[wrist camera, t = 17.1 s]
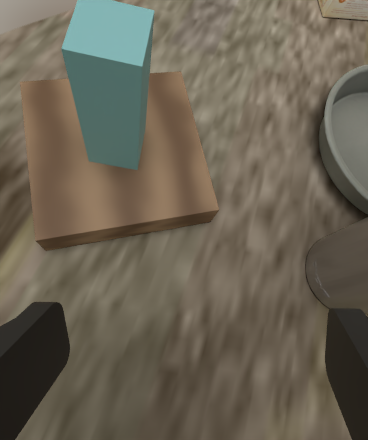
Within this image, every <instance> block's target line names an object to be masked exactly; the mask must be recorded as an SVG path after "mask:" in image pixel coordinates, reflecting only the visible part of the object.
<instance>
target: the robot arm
mask: <svg viewBox="0 0 368 440" xmlns="http://www.w3.org/2000/svg"><path fill="white" fill-rule="evenodd" d="M306 275H307V279H308V282H309V285H310V287H311V289H312V291H313V292H314V294H315V295H316V297H317V298H318V299H319V300H320V301H321V302H322V303H323V304H324V305H325V306H327V307H328V308H330V310H329V313H328V323H327V336H326V350H325V364H326V371H327V376H328V379H329V382H330V384H331V387H332V389H333V392H334V395H335V397H336V400H337V402H338V405H339V407H340V410H341V412H342V415H343V418H344V420H345V423H346V425H347V428H348V430H349V433H350V435H351V438H352V440H368V318H367V316H366V315H365V313H368V217H366V218H364V219H362V220H360V221H358V222H356V223H354V224H352V225H350V226H348V227H345V228H343V229H341V230H339V231H337V232H335V233H333V234H331V235H329V236H327V237H324V238H322V239H320V240H319V241H318V242H316V243H315V244H314V245H313V247H312V248H311V249H310V251H309V253H308V256H307V260H306ZM69 352H70V344H69V338H68V333H67V327H66V322H65V317H64V311H63V308H62V305H61V304H60V303H58V302H34V303H32V304H31V305H30V306H28V307H27V308H26V309H25V310H24V311H23V312H22V313H21V314H20V315H19V316H17V317H16V318H15V319H13V320H11V321H9V322H8V323H6V324H4V325H2V326H0V440H15V439H16V437H17V436H18V434H19V433H20V432H21V430H22V429H23V427H24V426H25V424H26V423H27V421H28V420H29V418H30V417H31V415H32V414H33V412H34V411H35V409H36V408H37V407H38V405H39V404H40V402H41V401H42V399H43V398H44V396H45V395H46V393H47V392H48V390H49V389H50V387H51V386H52V384H53V383H54V382H55V380H56V379H57V377H58V376H59V374H60V373H61V371H62V370H63V368H64V367H65V365H66V363H67V361H68V357H69Z"/></svg>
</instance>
